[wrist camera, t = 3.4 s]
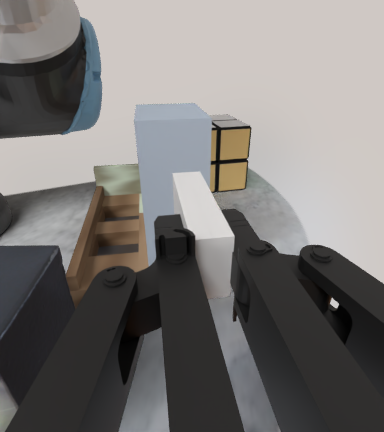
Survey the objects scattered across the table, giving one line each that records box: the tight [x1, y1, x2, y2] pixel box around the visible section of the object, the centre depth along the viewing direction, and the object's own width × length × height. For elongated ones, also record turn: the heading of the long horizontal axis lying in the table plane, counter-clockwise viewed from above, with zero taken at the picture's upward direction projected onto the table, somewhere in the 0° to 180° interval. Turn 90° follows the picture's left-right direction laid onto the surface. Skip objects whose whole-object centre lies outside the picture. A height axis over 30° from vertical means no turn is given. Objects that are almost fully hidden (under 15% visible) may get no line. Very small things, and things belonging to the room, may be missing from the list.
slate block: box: [134, 103, 212, 266], centre depth 24 cm, size 5×7×13 cm
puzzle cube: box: [209, 114, 251, 193], centre depth 46 cm, size 10×10×10 cm
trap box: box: [66, 164, 149, 309], centre depth 32 cm, size 13×19×6 cm
